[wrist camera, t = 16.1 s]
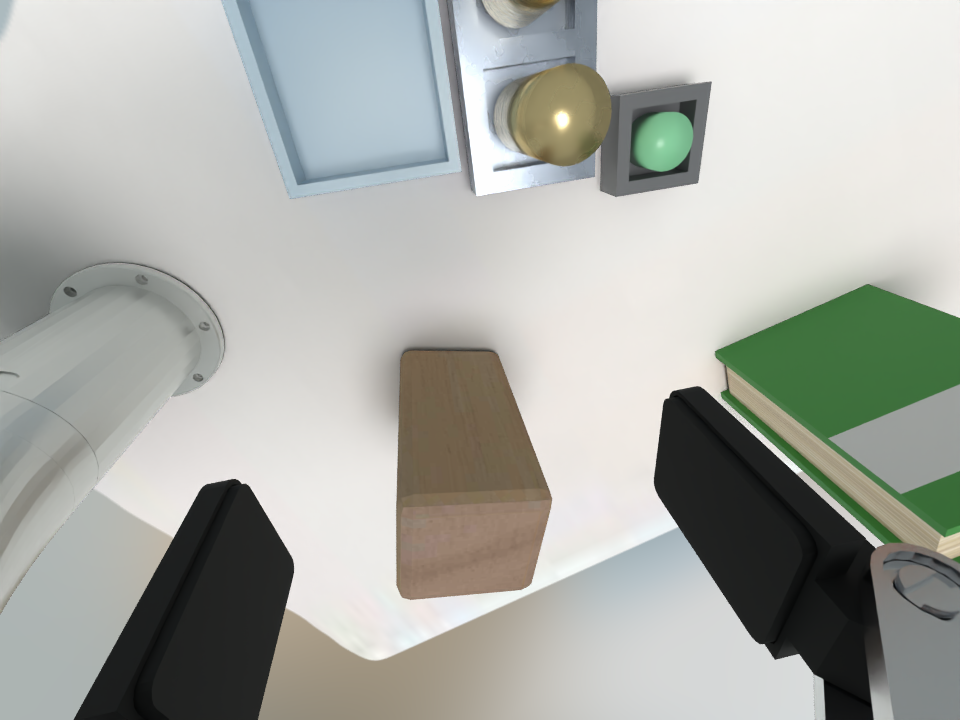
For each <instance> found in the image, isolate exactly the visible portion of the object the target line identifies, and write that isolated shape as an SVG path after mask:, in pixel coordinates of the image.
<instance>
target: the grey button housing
mask: <svg viewBox="0 0 960 720" xmlns="http://www.w3.org/2000/svg"><path fill="white" fill-rule="evenodd" d="M711 83H712V82H703V83H694V84H685V85H679V86H672V87H666V88H659V89H653V90H646V91H639V92H633V93H626V94H620V95H613V96H610V98H611V108H612V112H611V120H610V125H609V128H608V131H607V134H606V136H605V138H604V140H603V142H602V146H601V191H603V192H605V193H608V194H610V195H613V196H615V197H618V196H624V195H630V194H636V193H642V192H648V191H654V190H660V189H666V188H672V187H678V186H684V185H690V184H696V183H698V180H699V172H700V165H701V157H702V150H703V142H704V135H705V127H706V120H707V113H708V105H709V98H710V90H711ZM650 112H679V113H682V114H683V115H685V116H686V117H687V118H688V119H689V121H690V122H691V125H692V128H693V141H692V145H691V148H690V150H689V152H688V154H687V156H686V157H685V159H684V160H683V161H682V162H681V163H680V164H679V165H678V166H676V167H675V168H673V169H671V170H668V171H663V172H660V171H655V170H650V169H646V168H641V167H637V166H635V165H633V164H632V163H631V162H630V147H631V128H632V124H633V122H634V121H635V120H636V119H637V118H639V117H640V116H642V115H644V114H646V113H650Z"/></svg>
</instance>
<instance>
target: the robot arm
mask: <svg viewBox="0 0 960 720" xmlns="http://www.w3.org/2000/svg"><path fill="white" fill-rule="evenodd" d="M207 323H208V324H207ZM223 354H224V338H223V334H222V329H221V327H220V325H219V323H218V320H217V318H216V316H215V315H214V313H213V312H212V311H211V309H210V308H209V306H208V305H207V304H206V303H205V302H204V301H203V300H202V299H201V298H200V297H199V296H198V295H197V294H196V293H195V292H194V291H192V290H191V289H190V288H189V287H187V286H186V285H185V284H183V283H181V282H180V281H178V280H176V279H174V278H173V277H171V276H169V275H167V274H164V273H162V272H160V271H157V270H155V269H152V268H148V267H144V266H140V265H136V264H126V263H107V264H99V265H96V266H92V267H88V268H86V269H84V270H82V271H79V272H77V273H75V274H73V275H72V276H70V277H69V278H67V279H66V280H65V281H63V282H62V283H61V284H60V286H59V287H58V288H57V289H56V291H55V292H54V295H53V297H52V300H51V302H50V310H49V315H47V316H45V317H43V318H42V319H40V320H38V321H36V322H34V323H33V324H31V325H29V326H27V327H25V328H24V329H22V330H20V331H18V332H16V333H15V334H13V335H11V336H9V337H7V338H6V339H4V340H2V341H0V614H1V613H2V611H3V609H4V607H5V606H6V604H7V602H8V601H9V599H10V597H11V596H12V594H13V593H14V591H15V589H16V588H17V586H18V585H19V584H20V582H21V581H22V579H23V577H24V576H25V574H26V573H27V571H28V570H29V568H30V567H31V566H32V564H33V563H34V562H35V560H36V559H37V557H38V556H39V555H40V554H41V552H42V551H43V549H44V548H45V547H46V545H47V544H48V543H49V542H50V540H51V539H52V538H53V536H54V535H55V534H56V533H57V532H58V530H59V529H60V528H61V527H62V525H63V524H64V523H65V522H66V520H67V519H68V518H69V516H70V515H71V514H72V513H73V512H74V511H75V510H76V508H77V507H78V506H79V505H80V503H81V502H82V501H83V500H84V499H85V497H86V496H87V495H88V494H89V493H90V491H91V490H92V489H93V488H94V487H95V486H96V485H97V484H98V482H99V481H100V480H101V479H102V478H103V477H104V475H105V474H106V473H107V472H108V471H109V469H110V468H111V467H112V466H113V465H114V463H115V462H116V461H117V460H118V459H119V458H120V456H121V455H122V454H123V453H124V452H125V450H126V449H127V448H128V447H129V446H130V444H131V443H132V442H133V441H134V440H135V438H136V437H137V436H138V435H139V434H140V433H141V431H142V430H143V429H144V428H145V427H146V425H147V424H148V423H149V422H150V421H151V419H152V418H153V417H154V416H155V415H156V413H157V412H158V411H159V410H160V409H161V408H162V406H163V405H164V404H165V403H166V402H167V400H168V399H169V398H170V397H173V396H179V395H182V394H186V393H189V392H191V391H193V390H195V389H198V388H200V387H201V386H202V385H203V384H205V383H206V382H207V381H209V379H210V378H211V377H212V376H213V374H214V373H215V372H216V370H217V369H218V367H219V365H220V364H221V361H222V357H223ZM654 486H655V490H656V492H657V494H658V496H659V498H660V499H661V501H662V502H663V504H664V505H665V507H666V508H667V510H668V511H669V513H670V514H671V516H672V517H673V519H674V520H675V522H676V523H677V525H678V527H679V528H680V530H681V531H682V533H683V534H684V536H685V537H686V539H687V540H688V542H689V543H690V544H691V546H692V548H693V549H694V551H695V552H696V554H697V555H698V557H699V558H700V560H701V561H702V563H703V564H704V566H705V567H706V569H707V570H708V572H709V573H710V575H711V576H712V578H713V580H714V581H715V583H716V584H717V586H718V587H719V589H720V590H721V592H722V593H723V595H724V596H725V598H726V599H727V601H728V602H729V604H730V605H731V607H732V608H733V610H734V611H735V613H736V614H737V616H738V617H739V619H740V620H741V622H742V623H743V625H744V626H745V628H746V629H747V631H748V632H749V634H750V635H751V637H752V638H753V639H754V640H755V641H756V642H758V643H759V644H765V645H766V647H767V648H768V650H769V651H770V653H771V654H772V656H773V657H774V659H775V660H776V659H780V658H784V657H788V656H791V655H796V654H800V656H801V657H802V658H803V660H804V661H805V662H806V664H807V665H808V666H809V668H810V669H811V670H812V672H813V676H814V677H813V678H814V707H815V720H960V564H959V563H958V562H956V561H954V560H952V559H950V558H948V557H947V556H945V555H943V554H941V553H938V552H935V551H933V550H930V549H927V548H925V547H922V546H917V545H912V544H907V543H888V544H885V545H882V546H879V547H877V549H876V548H875V547H874V546H872V545H871V544H870V543H869V542H868V541H867V540H866V538H865V537H864V536H863V535H862V534H860V533H859V532H858V531H857V530H856V529H855V528H854V527H853V526H852V525H851V524H850V523H848V522H847V521H846V520H845V519H844V518H843V517H842V516H841V515H840V514H839V513H838V512H837V511H836V510H834V509H833V508H832V507H831V506H830V505H829V504H828V503H827V502H826V501H825V500H824V499H822V498H821V497H820V496H819V495H818V494H817V493H816V492H815V491H814V490H813V489H812V488H810V487H809V486H808V485H807V484H806V483H805V482H804V481H803V480H802V479H801V478H800V477H799V476H798V475H797V474H795V473H794V472H793V471H792V470H791V469H790V468H789V467H788V466H787V465H786V464H785V463H784V462H782V461H781V460H780V459H779V458H778V457H777V456H776V455H775V454H774V453H773V452H772V451H771V450H769V449H768V448H767V447H766V446H765V445H764V444H763V443H762V442H761V441H760V440H759V439H757V438H756V437H755V436H754V435H753V434H752V433H751V432H750V431H749V430H748V429H747V428H746V427H744V426H743V425H742V424H741V423H740V422H739V421H738V420H737V419H736V418H735V417H734V416H733V415H731V414H730V413H729V412H728V411H727V410H726V409H725V408H724V407H723V406H722V405H721V404H720V403H718V402H717V401H716V400H715V399H714V398H713V397H712V396H711V395H710V394H709V393H708V392H707V391H705V390H704V389H703V388H701V387H699V386H696V387H691V388H686V389H681V390H676V391H673V392H672V393H671V394H670V397H669V398H668V399H665V401H664V404H663V411H662V419H661V427H660V435H659V443H658V451H657V459H656V467H655V475H654ZM293 574H294V563H293V559H292V557H291V555H290V553H289V552H288V550H287V548H286V547H285V545H284V543H283V542H282V540H281V538H280V537H279V535H278V533H277V532H276V530H275V528H274V527H273V525H272V523H271V522H270V520H269V518H268V517H267V515H266V513H265V512H264V510H263V508H262V507H261V505H260V503H259V502H258V500H257V498H256V497H255V495H254V493H253V492H252V490H251V488H250V487H249V486H248V485H247V484H241V483H240V481H238V480H236V479H231V480H226V481H221V482H216V483H211V484H206V485H205V486H203V487H202V489H201V490H200V491H199V493H198V495H197V497H196V499H195V501H194V502H193V504H192V506H191V508H190V510H189V511H188V513H187V515H186V517H185V519H184V520H183V522H182V524H181V526H180V528H179V530H178V531H177V533H176V535H175V537H174V539H173V540H172V542H171V544H170V546H169V548H168V550H167V551H166V553H165V555H164V557H163V559H162V560H161V562H160V564H159V566H158V568H157V569H156V571H155V573H154V575H153V577H152V578H151V580H150V582H149V584H148V586H147V588H146V589H145V591H144V593H143V595H142V597H141V599H140V600H139V602H138V604H137V606H136V607H135V609H134V611H133V613H132V615H131V617H130V618H129V620H128V622H127V624H126V626H125V627H124V629H123V631H122V633H121V635H120V636H119V638H118V640H117V642H116V644H115V646H114V647H113V649H112V651H111V653H110V655H109V656H108V658H107V660H106V662H105V664H104V665H103V667H102V669H101V671H100V673H99V675H98V677H97V678H96V680H95V682H94V684H93V685H92V687H91V689H90V691H89V693H88V694H87V696H86V698H85V700H84V702H83V704H82V705H81V707H80V709H79V711H78V713H77V714H76V716H75V718H74V720H258V716H259V712H260V708H261V704H262V700H263V696H264V692H265V688H266V684H267V680H268V676H269V672H270V668H271V664H272V660H273V656H274V652H275V647H276V644H277V639H278V635H279V631H280V627H281V623H282V619H283V615H284V611H285V607H286V603H287V599H288V595H289V591H290V587H291V583H292V579H293Z"/></svg>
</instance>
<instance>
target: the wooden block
mask: <svg viewBox="0 0 960 720" xmlns="http://www.w3.org/2000/svg"><path fill="white" fill-rule="evenodd" d="M551 503H552V497H551V494H550V491H549V488H548V486H547V483H546V480H545V478H544V475H543V472H542V470H541V467H540V464H539V462H538V459H537V457H536V454H535V451H534V449H533V446H532V443H531V441H530V438H529V435H528V433H527V430H526V427H525V425H524V422H523V420H522V417H521V414H520V412H519V409H518V406H517V404H516V401H515V398H514V396H513V393H512V390H511V388H510V385H509V383H508V380H507V377H506V375H505V372H504V369H503V367H502V364H501V361H500V359H499V356H498V355H497V354H496V353H493V352H490V351H419V350H411V351H407V352H405V353H404V354H403V356H402V358H401V360H400V396H399V432H398V467H397V503H396V564H397V588H398V590H399V592H400V594H401V596H402V598H406V599H410V600H414V599H425V598H436V597H447V596H458V595H470V594H481V593H492V592H503V591H514V590H521V589H524V588H526V587H528V586H529V585H530V584H531V582H532V579H533V575H534V571H535V567H536V563H537V559H538V555H539V552H540V548H541V544H542V540H543V536H544V532H545V528H546V525H547V521H548V517H549V513H550V509H551Z"/></svg>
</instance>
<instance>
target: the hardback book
mask: <svg viewBox="0 0 960 720" xmlns="http://www.w3.org/2000/svg"><path fill="white" fill-rule="evenodd" d="M715 355H716V358H717V359H718V360H720V361H721V362H722V363H723V364H725V365H726V368H727V375H728V383H729V389H728V390H725V391H723V392H721V396H722V399H724V400H725V401H726V402H727V403H728V404H729V405H730V406H731V407H732V408H734V409H735V410H736V411H737V412H738V413H739V414H740V415H741V416H743V417H744V418H745V419H746V420H747V421H748V422H749V423H750V424H751V425H753V426H754V427H755V428H756V429H757V430H758V431H759V432H760V433H761V434H763V435H764V436H765V437H766V438H767V439H768V440H769V441H770V442H771V443H773V444H774V445H775V446H776V447H777V448H778V449H779V450H780V451H781V452H783V453H784V454H785V455H786V456H787V457H788V458H789V459H790V460H791V461H793V462H794V463H795V464H796V465H797V466H798V467H799V468H800V469H801V470H803V471H804V472H805V473H806V474H807V475H808V476H809V477H810V478H811V479H813V480H814V481H815V482H816V483H817V484H818V485H819V486H820V487H822V488H823V489H824V490H825V491H826V492H827V493H828V494H829V495H830V496H831V497H833V498H834V499H835V500H836V501H837V502H838V503H839V504H840V505H841V506H843V507H844V508H845V509H846V510H847V511H848V512H849V513H850V514H851V515H853V516H854V517H855V518H856V519H857V520H858V521H860V523H861V524H863V525H864V526H865V527H866V528H867V529H868V530H869V531H870V532H871V533H873V534H874V535H875V536H876V537H877V538H878V539H879V540H880V541H881V542H883V543H884V544H888V543H907V544H912V545H917V546H922V547H925V548H927V549H930V550H933V551H935V552H938V553H941V554H943V555H945V556H947V557H948V558H950V559H952V560H954V561H956V562H958V563H959V564H960V318H958V317H956V316H953V315H950V314H947V313H945V312H942V311H939V310H937V309H934V308H931V307H928V306H926V305H923V304H920V303H917V302H915V301H912V300H909V299H907V298H904V297H901V296H898V295H896V294H893V293H890V292H888V291H885V290H882V289H879V288H877V287H874V286H871V285H869V284H867V285H865V286H863V287H860V288H858V289H856V290H854V291H851V292H849V293H847V294H845V295H842V296H840V297H838V298H835V299H833V300H831V301H829V302H826V303H824V304H822V305H819V306H817V307H815V308H813V309H810V310H808V311H806V312H804V313H801V314H799V315H797V316H794V317H792V318H790V319H788V320H785V321H783V322H781V323H779V324H776V325H774V326H772V327H769V328H767V329H765V330H763V331H760V332H758V333H756V334H754V335H751V336H749V337H747V338H744V339H742V340H740V341H738V342H735V343H733V344H731V345H729V346H726V347H724V348H722V349H719V350H717V351H715Z"/></svg>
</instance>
